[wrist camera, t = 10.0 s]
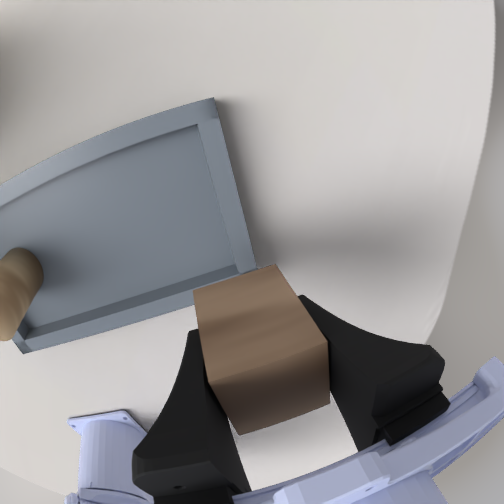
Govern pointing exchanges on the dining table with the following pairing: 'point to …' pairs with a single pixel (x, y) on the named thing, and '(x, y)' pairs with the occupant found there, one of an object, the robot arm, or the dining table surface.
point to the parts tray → (126, 225)
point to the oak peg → (17, 288)
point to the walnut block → (261, 350)
